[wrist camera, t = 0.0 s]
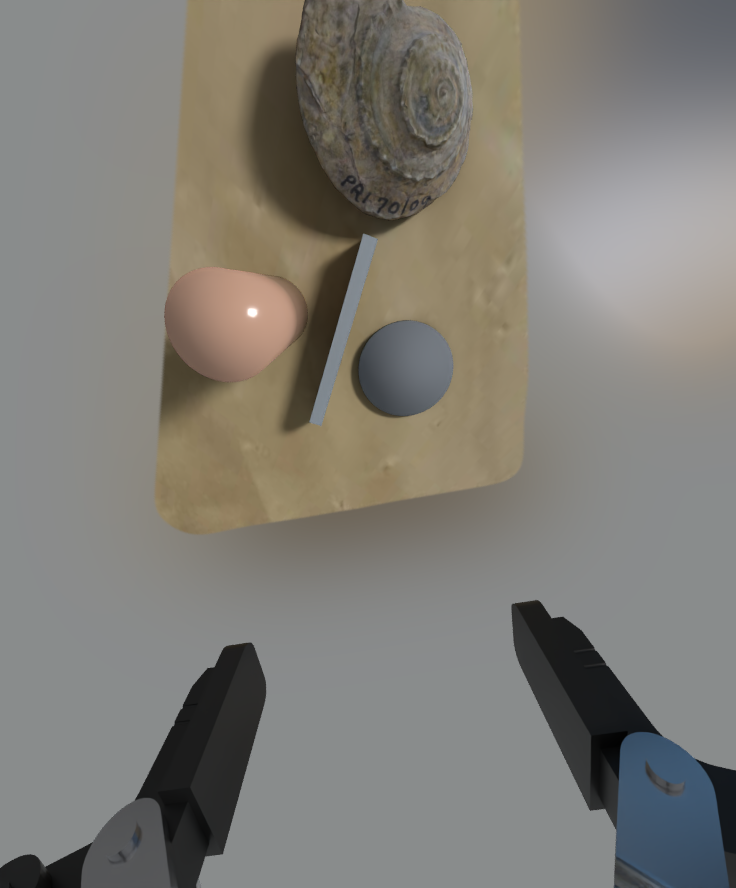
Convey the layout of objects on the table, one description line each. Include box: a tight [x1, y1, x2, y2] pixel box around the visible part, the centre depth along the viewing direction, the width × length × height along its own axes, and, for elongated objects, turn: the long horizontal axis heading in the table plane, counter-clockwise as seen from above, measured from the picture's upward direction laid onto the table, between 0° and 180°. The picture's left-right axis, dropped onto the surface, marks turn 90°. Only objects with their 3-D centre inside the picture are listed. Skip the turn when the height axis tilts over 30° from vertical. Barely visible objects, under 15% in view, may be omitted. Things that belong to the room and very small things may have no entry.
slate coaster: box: [359, 320, 453, 416], centre depth 29 cm, size 8×8×1 cm
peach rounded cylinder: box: [164, 267, 308, 382], centre depth 22 cm, size 5×5×12 cm
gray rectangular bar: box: [310, 234, 378, 426], centre depth 27 cm, size 14×1×3 cm, turn 162°
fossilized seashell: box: [296, 0, 473, 220], centre depth 21 cm, size 11×11×7 cm
